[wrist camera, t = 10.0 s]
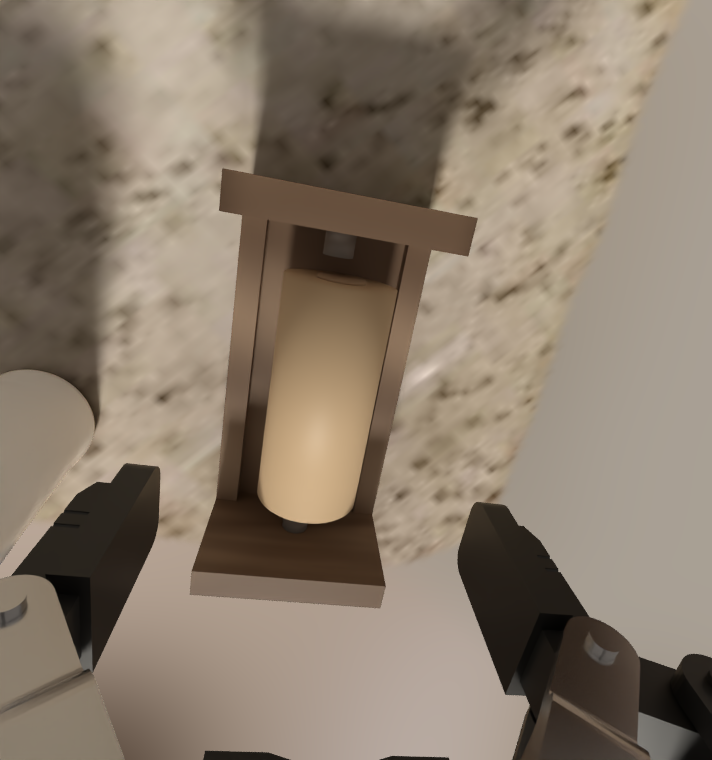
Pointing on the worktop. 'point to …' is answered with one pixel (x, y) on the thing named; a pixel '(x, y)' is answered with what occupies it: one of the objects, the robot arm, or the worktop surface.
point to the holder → (253, 375)
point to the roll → (322, 392)
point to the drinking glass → (36, 444)
